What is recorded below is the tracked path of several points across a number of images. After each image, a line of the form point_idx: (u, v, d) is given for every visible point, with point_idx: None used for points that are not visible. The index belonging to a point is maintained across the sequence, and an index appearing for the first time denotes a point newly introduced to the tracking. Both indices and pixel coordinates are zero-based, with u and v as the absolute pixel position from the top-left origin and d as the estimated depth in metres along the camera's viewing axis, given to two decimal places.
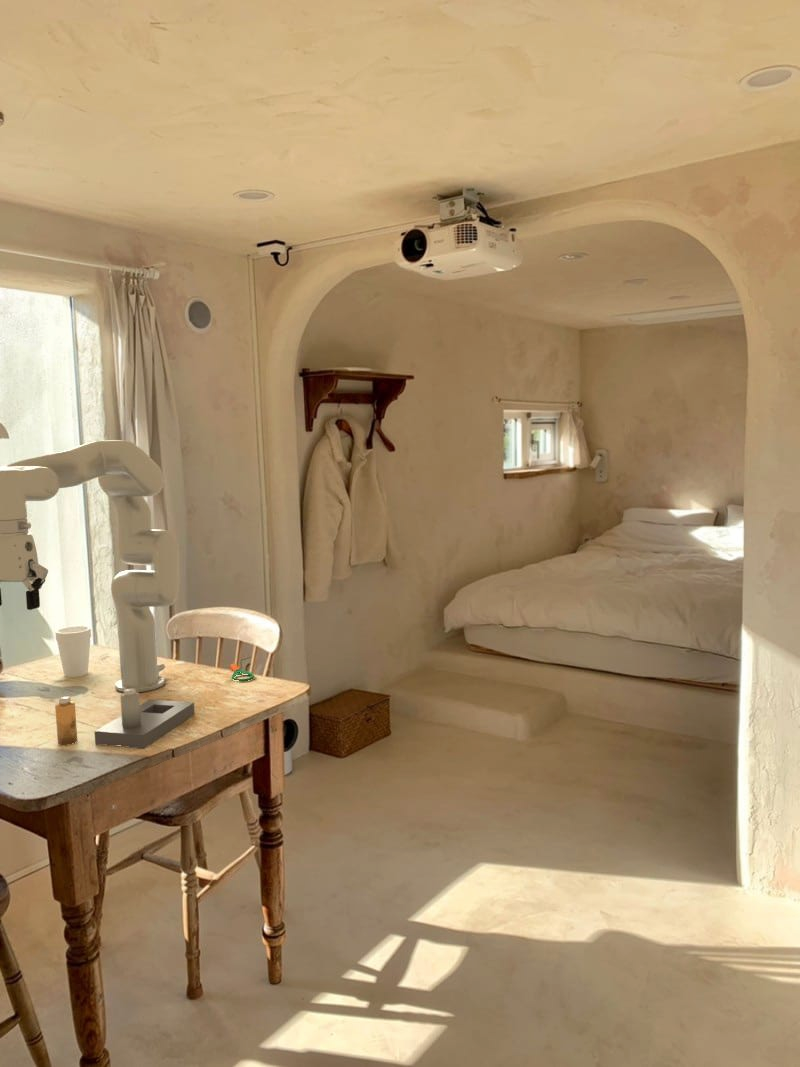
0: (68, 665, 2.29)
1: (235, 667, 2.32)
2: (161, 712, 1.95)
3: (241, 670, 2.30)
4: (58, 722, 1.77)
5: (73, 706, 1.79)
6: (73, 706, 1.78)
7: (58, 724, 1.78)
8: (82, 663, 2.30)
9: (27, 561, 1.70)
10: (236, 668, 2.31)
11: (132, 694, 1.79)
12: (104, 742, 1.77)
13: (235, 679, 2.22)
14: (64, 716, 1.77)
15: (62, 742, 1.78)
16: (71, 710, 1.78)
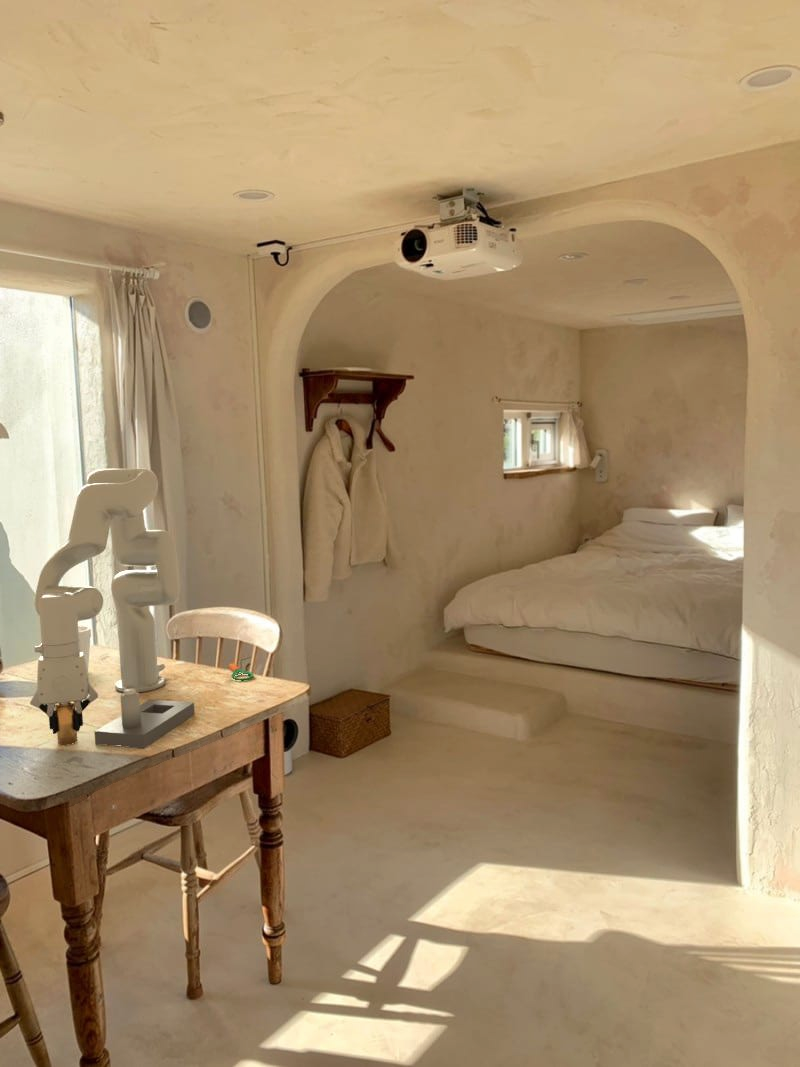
0: None
1: (234, 667, 2.32)
2: (161, 712, 1.95)
3: (240, 670, 2.30)
4: (58, 722, 1.77)
5: (73, 706, 1.78)
6: (73, 706, 1.78)
7: (58, 724, 1.77)
8: None
9: None
10: (235, 668, 2.32)
11: (132, 694, 1.79)
12: (104, 742, 1.77)
13: (235, 679, 2.23)
14: (64, 716, 1.77)
15: (62, 742, 1.78)
16: (71, 710, 1.78)
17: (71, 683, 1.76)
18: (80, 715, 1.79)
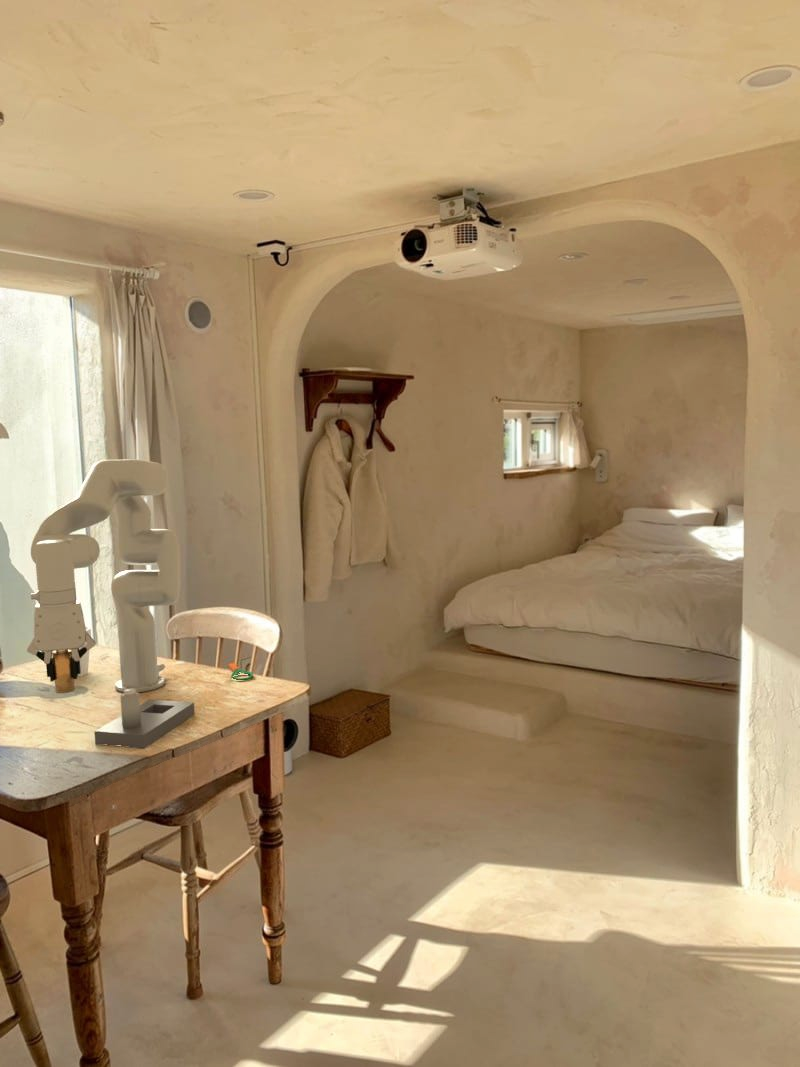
0: None
1: (234, 666, 2.33)
2: (161, 712, 1.95)
3: (240, 669, 2.30)
4: (55, 669, 1.77)
5: (70, 654, 1.78)
6: (70, 654, 1.77)
7: (55, 672, 1.77)
8: (82, 663, 2.30)
9: None
10: (235, 667, 2.32)
11: (132, 694, 1.79)
12: (104, 742, 1.77)
13: (234, 678, 2.23)
14: (61, 663, 1.76)
15: (60, 690, 1.77)
16: (68, 658, 1.77)
17: (68, 630, 1.75)
18: (77, 663, 1.78)
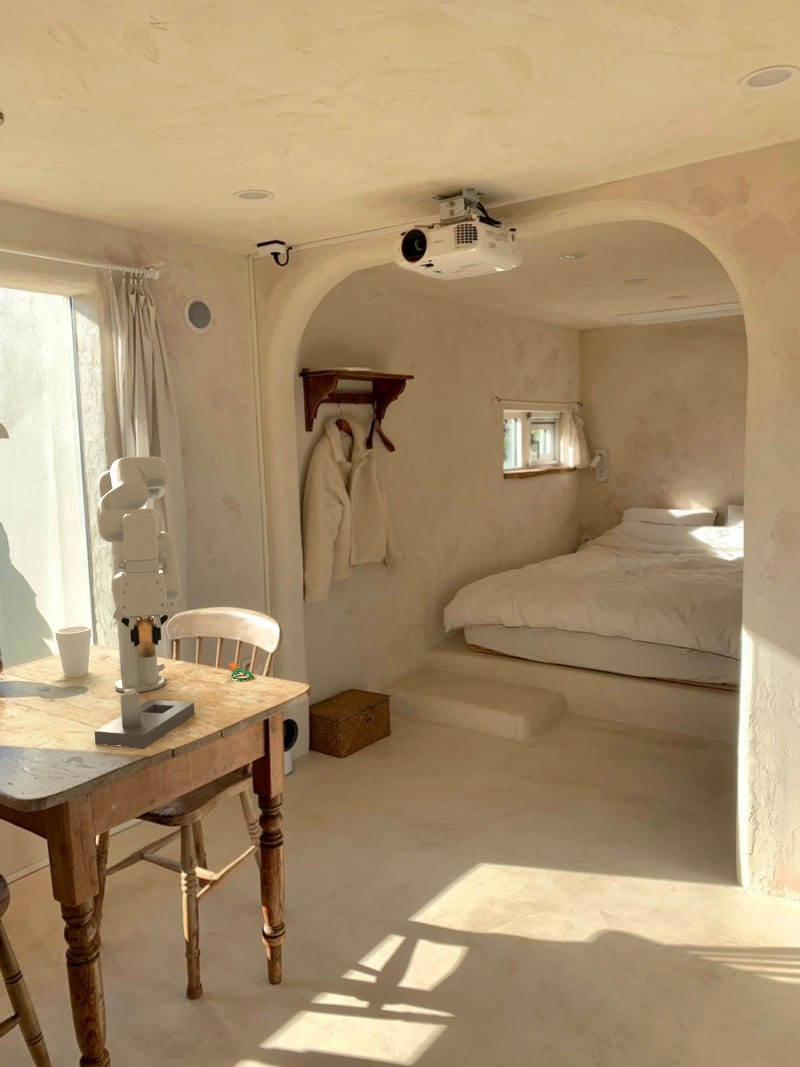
0: (68, 665, 2.29)
1: (234, 666, 2.33)
2: (161, 712, 1.95)
3: (240, 669, 2.31)
4: (138, 635, 1.87)
5: (152, 621, 1.88)
6: (152, 620, 1.88)
7: (139, 637, 1.87)
8: (82, 663, 2.30)
9: None
10: (235, 667, 2.32)
11: (132, 694, 1.79)
12: (104, 742, 1.77)
13: (234, 678, 2.23)
14: (144, 629, 1.86)
15: (142, 654, 1.87)
16: (151, 624, 1.87)
17: (152, 598, 1.85)
18: (159, 629, 1.88)
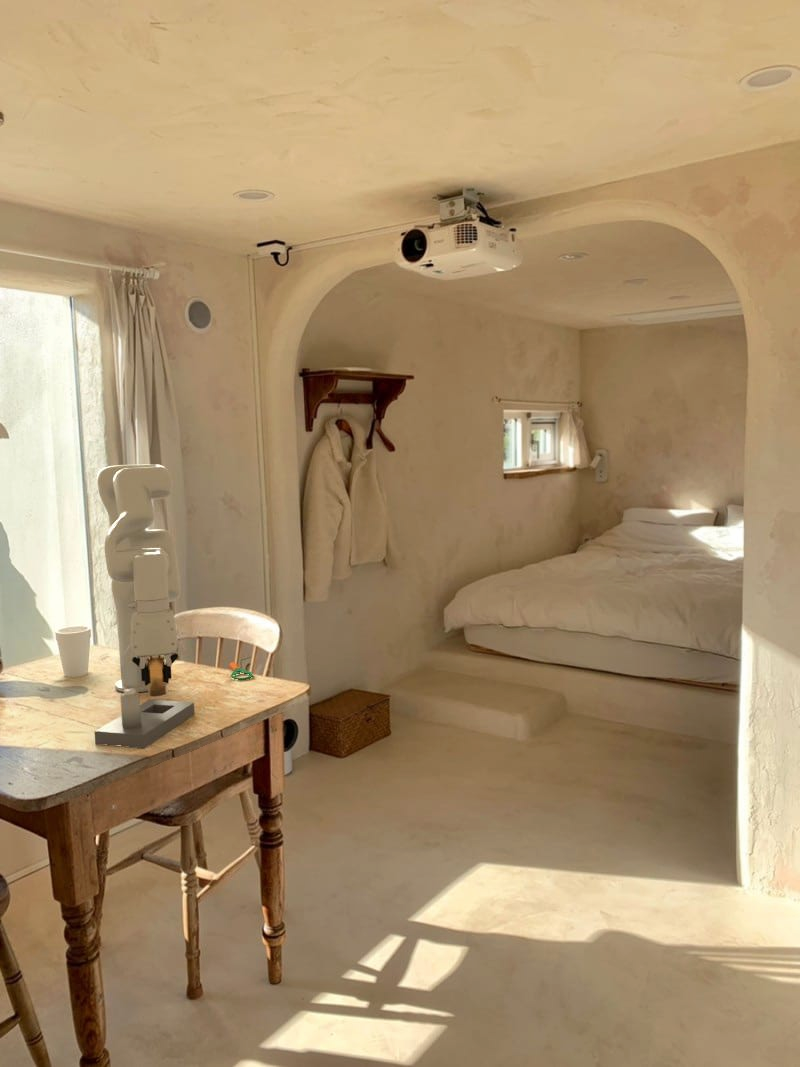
0: (68, 665, 2.29)
1: (234, 666, 2.33)
2: (161, 712, 1.95)
3: (240, 669, 2.31)
4: (149, 674, 1.88)
5: (163, 659, 1.90)
6: (163, 659, 1.90)
7: (149, 676, 1.89)
8: (82, 663, 2.30)
9: None
10: (235, 667, 2.32)
11: (132, 694, 1.79)
12: (104, 742, 1.77)
13: (234, 678, 2.23)
14: (155, 668, 1.88)
15: (153, 693, 1.89)
16: (161, 663, 1.89)
17: (162, 637, 1.87)
18: (169, 668, 1.90)
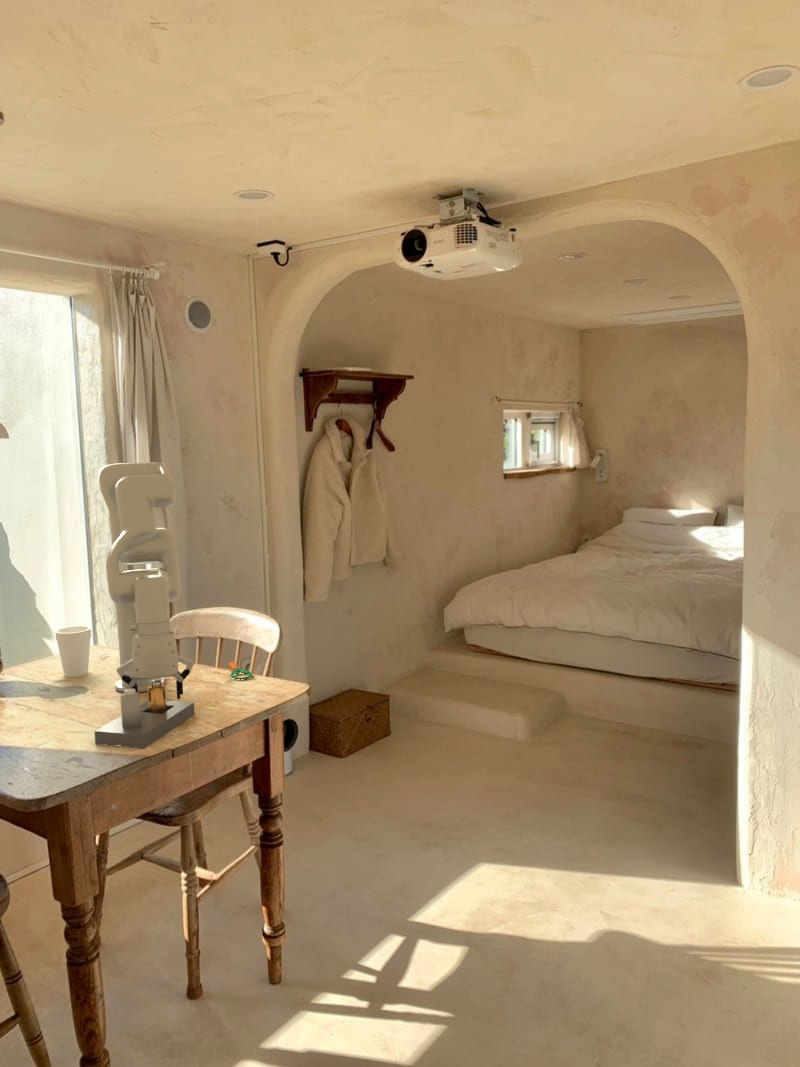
0: (68, 665, 2.29)
1: (234, 666, 2.33)
2: None
3: (240, 669, 2.31)
4: (151, 702, 1.89)
5: (164, 687, 1.91)
6: (164, 687, 1.91)
7: (151, 704, 1.90)
8: (82, 663, 2.30)
9: None
10: (235, 667, 2.33)
11: (132, 694, 1.79)
12: (104, 742, 1.77)
13: None
14: (156, 696, 1.89)
15: None
16: (162, 691, 1.90)
17: (163, 659, 1.88)
18: (181, 684, 1.92)
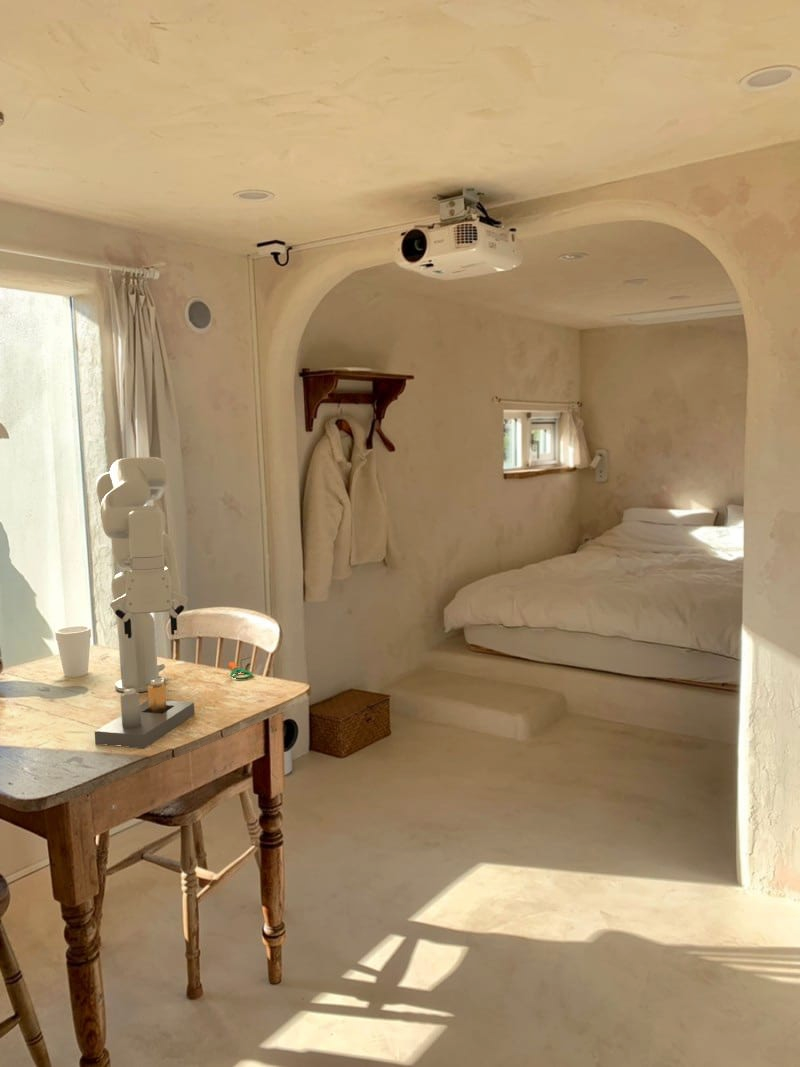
0: (68, 665, 2.29)
1: (233, 665, 2.34)
2: None
3: (239, 668, 2.31)
4: (150, 702, 1.90)
5: (164, 687, 1.91)
6: (164, 687, 1.91)
7: (151, 704, 1.90)
8: (82, 663, 2.30)
9: None
10: (234, 666, 2.33)
11: (132, 694, 1.79)
12: (104, 742, 1.77)
13: (233, 677, 2.24)
14: (156, 696, 1.89)
15: None
16: (162, 691, 1.90)
17: (157, 594, 1.87)
18: (175, 620, 1.91)
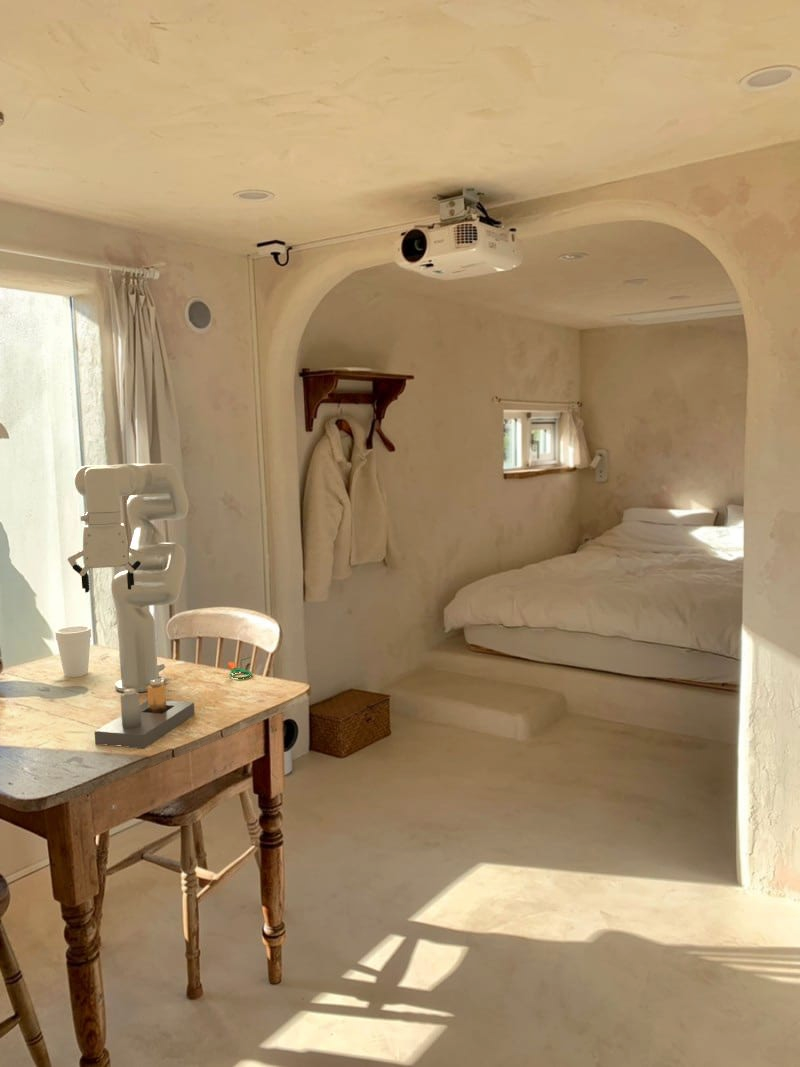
0: (68, 665, 2.29)
1: (233, 665, 2.34)
2: None
3: (239, 668, 2.32)
4: (150, 702, 1.89)
5: (164, 687, 1.91)
6: (164, 687, 1.91)
7: (150, 704, 1.90)
8: (82, 663, 2.30)
9: None
10: (234, 666, 2.33)
11: (132, 694, 1.79)
12: (104, 742, 1.77)
13: (233, 677, 2.24)
14: (156, 696, 1.89)
15: None
16: (162, 691, 1.90)
17: (114, 549, 1.92)
18: (132, 575, 1.96)
